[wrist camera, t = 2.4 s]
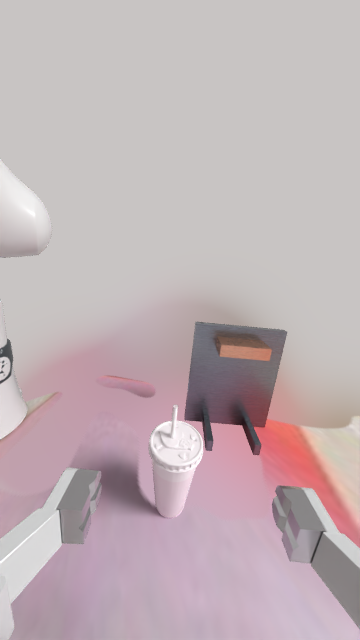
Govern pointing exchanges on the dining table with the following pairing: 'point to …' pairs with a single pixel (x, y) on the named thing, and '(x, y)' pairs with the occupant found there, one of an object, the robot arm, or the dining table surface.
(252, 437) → the gray menu stand
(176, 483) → the smoothie
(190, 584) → the dining table surface
